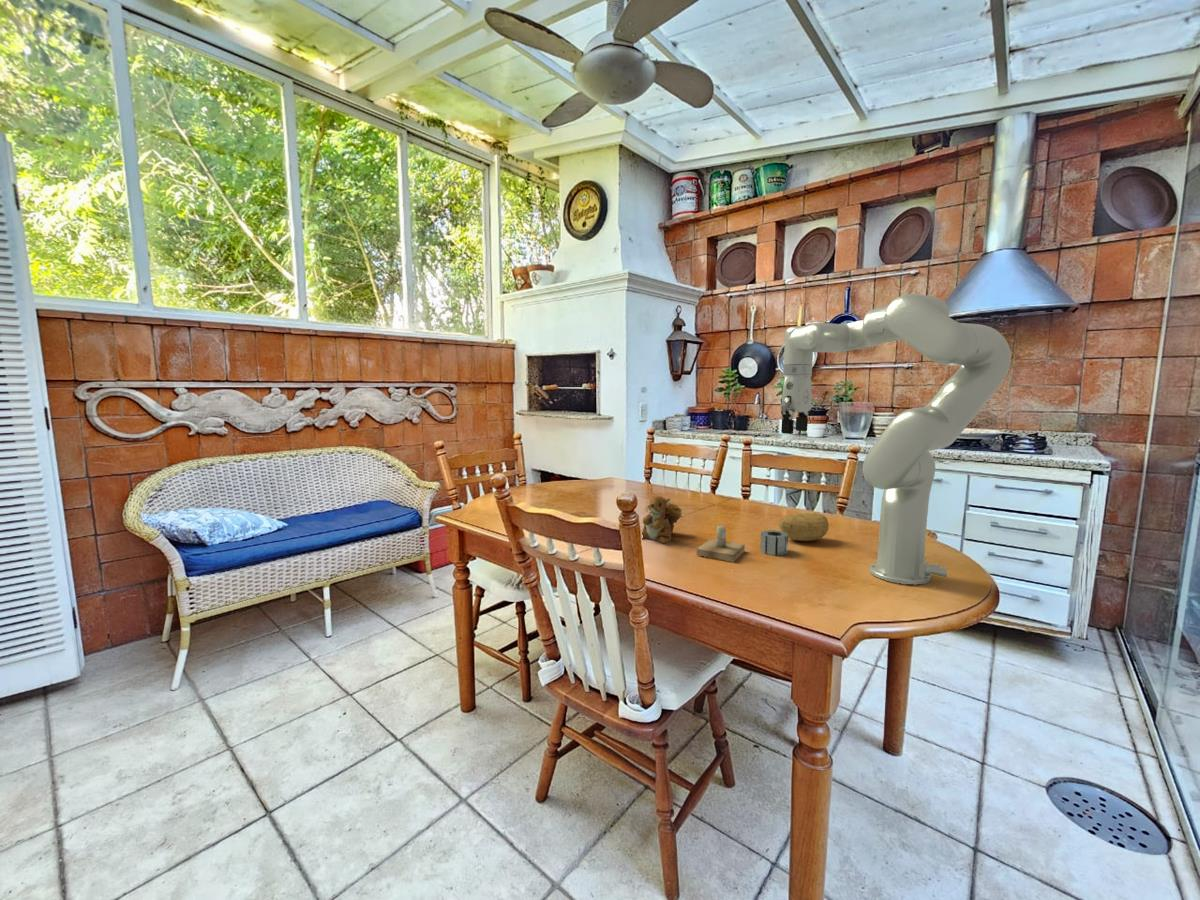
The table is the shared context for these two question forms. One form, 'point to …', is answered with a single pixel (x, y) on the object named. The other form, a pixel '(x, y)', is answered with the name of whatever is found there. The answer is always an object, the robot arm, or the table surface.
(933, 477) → the robot arm
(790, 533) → the potato
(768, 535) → the hub
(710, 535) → the table surface
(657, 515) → the stuffed squirrel
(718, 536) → the shaft stand
